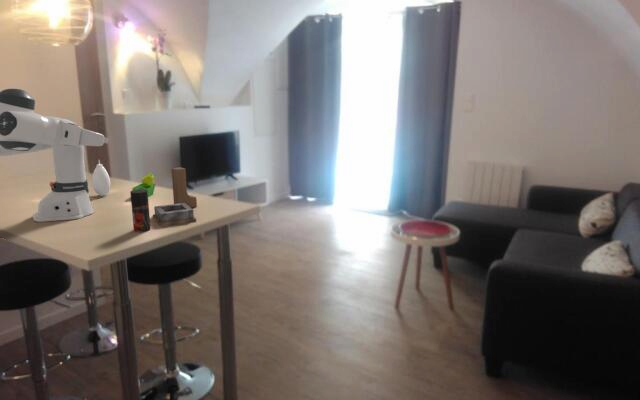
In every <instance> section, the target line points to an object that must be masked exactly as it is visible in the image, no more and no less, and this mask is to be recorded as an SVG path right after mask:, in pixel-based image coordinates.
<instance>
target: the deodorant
mask: <svg viewBox="0 0 640 400" xmlns="http://www.w3.org/2000/svg"><path fill="white" fill-rule="evenodd" d="M129 193H130V200H131V203H130V204H131V212H132V223H133V232H135V233H144V232H145V233H146V232H149V231H150V230H151V220H150V219H151V216H150V205H149V197H148V191H147V190H144V189H138V190H130V192H129Z"/></svg>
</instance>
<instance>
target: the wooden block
mask: <svg viewBox="0 0 640 400" xmlns="http://www.w3.org/2000/svg"><path fill="white" fill-rule="evenodd" d="M186 171H187V170H186V168H184V167H180V166H179V167H172V168H171V179H172V180H171V181H172V197H173V204H180V203H186V204H187V205H188V206H189V207H190V208H192V209H193V208H196V207H197V205H198V203H197V201H198V200H197V197H196V196H194V195H189V194H188V190H187V189H188V187H187V172H186Z"/></svg>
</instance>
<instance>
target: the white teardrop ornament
mask: <svg viewBox="0 0 640 400" xmlns="http://www.w3.org/2000/svg"><path fill="white" fill-rule="evenodd" d="M106 169H107V168H105V167H104V165H103V164H101V160H98V164H96V167H95V168H94V170H93V173H92V180H91V183H92V187H93V188H92V189H93V191H94V192H95V193H96V194H97V195H98V196H100V197H104V196H106V195H107V194H109V192H110V189H111V180H110V179H111V178H110V176H109V173H108V171H107V170H106Z"/></svg>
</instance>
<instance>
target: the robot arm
mask: <svg viewBox="0 0 640 400" xmlns="http://www.w3.org/2000/svg"><path fill="white" fill-rule="evenodd" d="M35 104H36V100H35V99H34V98H33V96H31V95H30V93H29V92H28V91H26V90H23V89H21V88H20V89H19V88H6V89H3V90H1V91H0V157H2V156H3V157H5V156H12V155H22V154H29V153H36V152H40V151H44V150H45V151H46V150H49V149H52V154H53V167H54V175H55V181H50V182H49V187H50V189H51V192H49V193H48V194H47V195H46V196H44V197H43V198H42V199H41V200H40V201H39V203H38V206H37V211H36V212H35V213H33V214H32V220H33V221H35V222H38V223H42V222H52V221H55V222H56V221H67V220H69V221H70V220H78V219H81V218H83V217H87V216H89V215H91V214H94V212H95V209H94V208H93V206H92V203H91V199H90V195H89V192H90V189H89V188H90V187H89V182H88V181H89V180H88V179H87V177H86V175H87V174H86V165H85V147H84V146H87V147H102V146H104V144H109V142H110V138H109V137H105V135H104V134H102V133H99V132H96V131H94V130H93V131H92V130H89V129H86V128H84V127H83V128H82V126H80V125H79V124H76V123H75V122H74V121H72V120H70V119H67V118H62V117H57V116H51V115H46V116H45V115H41V114H39V113H36V112H35V107H36V105H35Z"/></svg>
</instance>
